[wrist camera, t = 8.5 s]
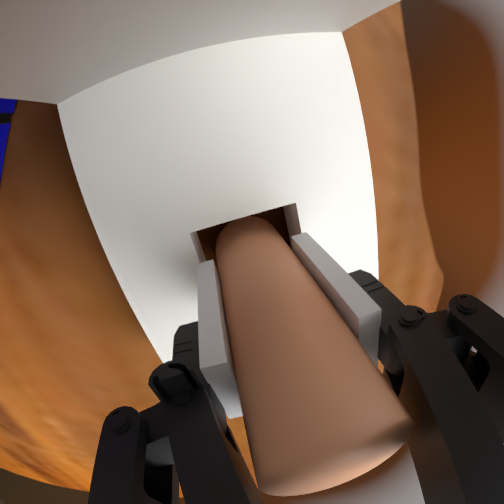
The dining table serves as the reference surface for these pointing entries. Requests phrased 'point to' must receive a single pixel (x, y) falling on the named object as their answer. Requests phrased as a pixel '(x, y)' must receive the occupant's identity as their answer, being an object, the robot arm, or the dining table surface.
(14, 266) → the dining table surface
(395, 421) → the peg
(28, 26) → the socket board
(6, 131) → the puzzle cube
